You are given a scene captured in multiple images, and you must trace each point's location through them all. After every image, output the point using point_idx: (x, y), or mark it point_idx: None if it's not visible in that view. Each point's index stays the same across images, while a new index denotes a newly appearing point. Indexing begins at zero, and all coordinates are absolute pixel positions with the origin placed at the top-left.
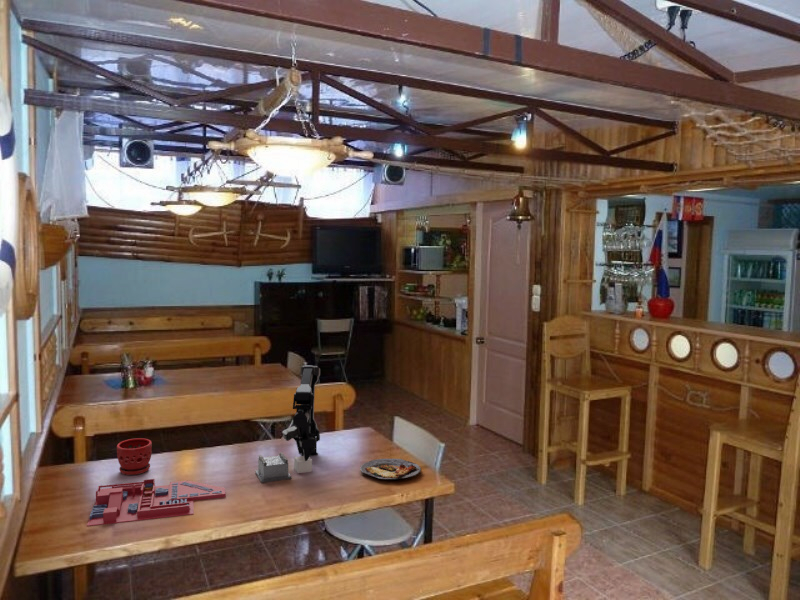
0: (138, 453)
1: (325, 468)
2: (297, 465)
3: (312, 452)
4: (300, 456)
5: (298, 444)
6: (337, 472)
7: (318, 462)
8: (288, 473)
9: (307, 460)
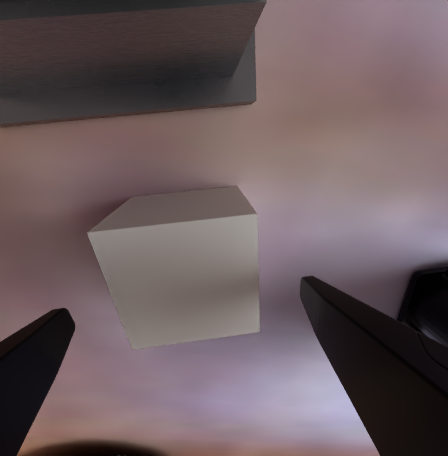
0: None
1: (188, 343)
2: (124, 213)
3: (418, 322)
4: (255, 274)
5: (400, 383)
6: (120, 380)
7: (287, 324)
8: (61, 110)
9: (122, 318)
